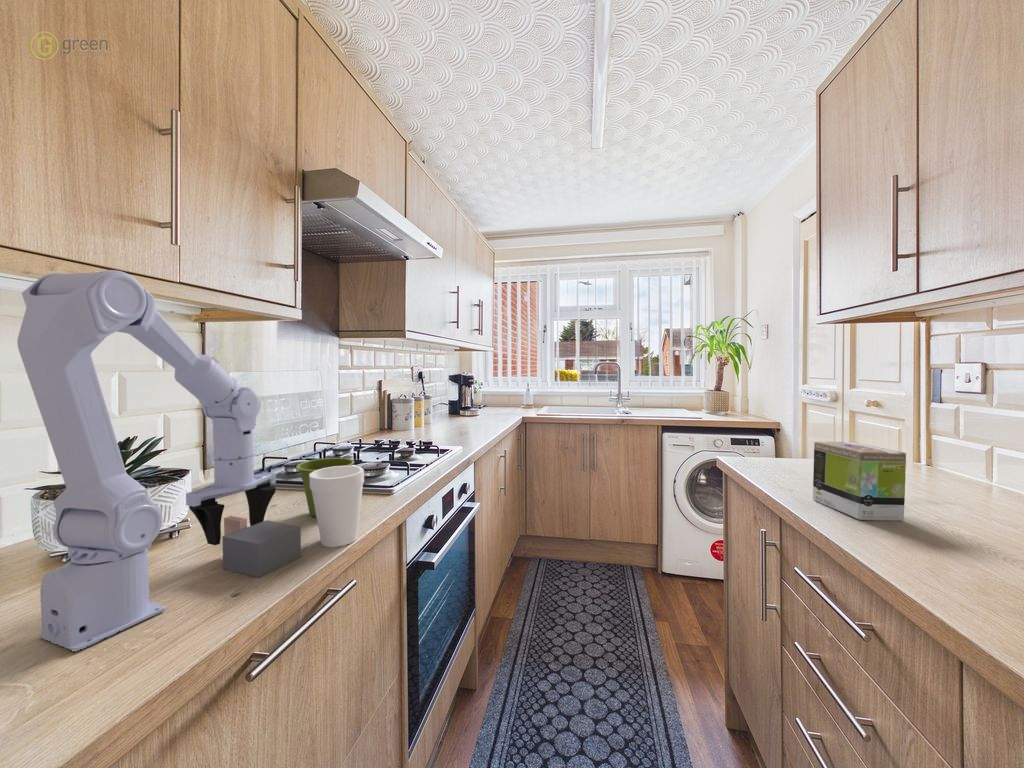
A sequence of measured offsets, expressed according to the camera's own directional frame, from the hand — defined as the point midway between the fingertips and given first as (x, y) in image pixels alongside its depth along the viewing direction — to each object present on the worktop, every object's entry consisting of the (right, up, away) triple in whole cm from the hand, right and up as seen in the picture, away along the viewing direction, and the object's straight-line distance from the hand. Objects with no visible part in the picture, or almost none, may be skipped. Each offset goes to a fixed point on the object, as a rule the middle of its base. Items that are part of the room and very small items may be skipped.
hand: (236, 535), depth 74 cm
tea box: (+126, -3, +25) cm, 129 cm away
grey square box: (+6, -4, -2) cm, 7 cm away
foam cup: (+15, -4, +7) cm, 17 cm away
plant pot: (+6, -3, +22) cm, 23 cm away
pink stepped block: (+3, -3, -1) cm, 4 cm away
